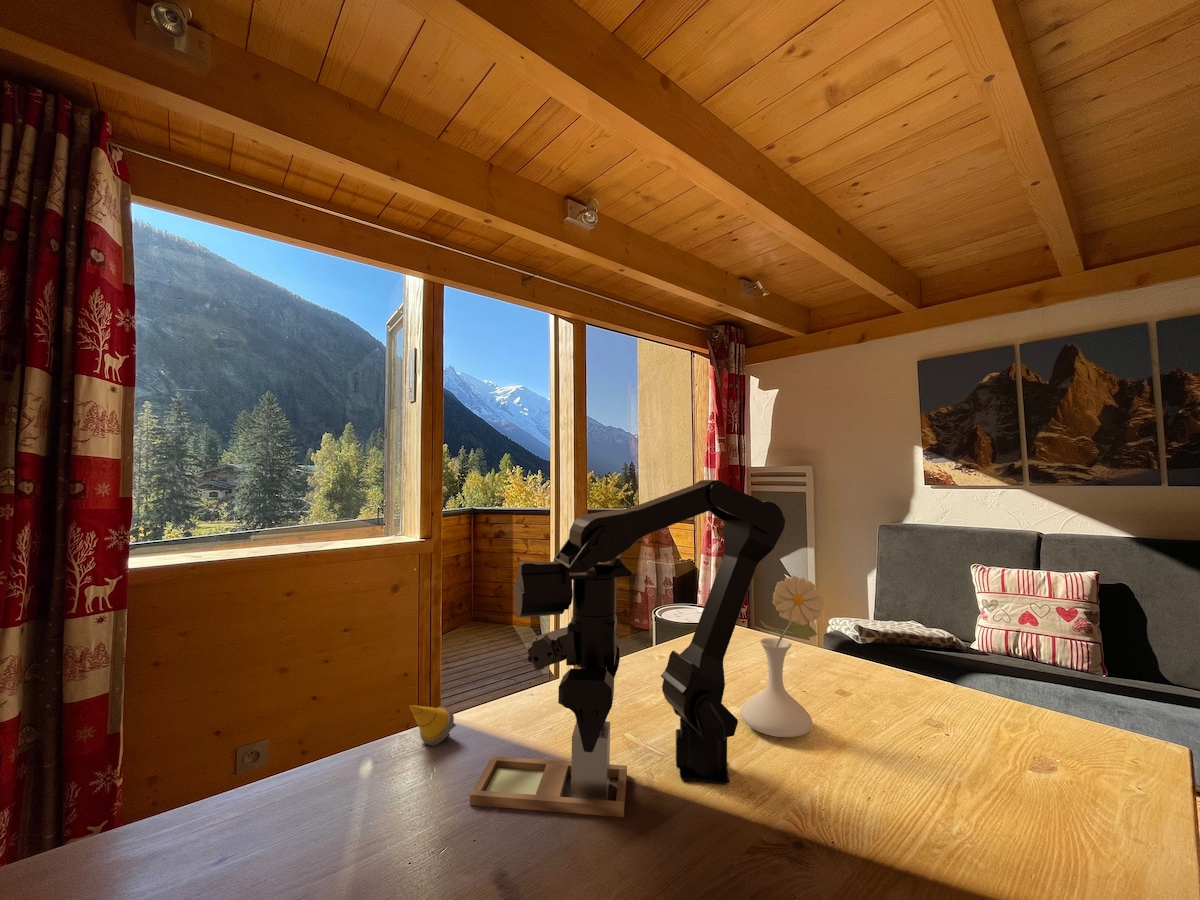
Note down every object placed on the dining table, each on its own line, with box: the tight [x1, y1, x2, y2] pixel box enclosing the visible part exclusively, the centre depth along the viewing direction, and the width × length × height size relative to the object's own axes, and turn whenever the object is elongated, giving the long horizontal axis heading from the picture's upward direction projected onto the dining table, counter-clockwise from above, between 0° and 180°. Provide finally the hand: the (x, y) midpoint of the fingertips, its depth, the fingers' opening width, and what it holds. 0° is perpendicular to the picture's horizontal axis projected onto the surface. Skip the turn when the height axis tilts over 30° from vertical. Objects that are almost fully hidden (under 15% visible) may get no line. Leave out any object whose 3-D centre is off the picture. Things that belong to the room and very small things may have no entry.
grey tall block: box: [570, 720, 611, 800], centre depth 68 cm, size 4×4×9 cm
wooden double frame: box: [469, 755, 628, 818], centre depth 68 cm, size 19×9×1 cm, turn 85°
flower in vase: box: [739, 575, 824, 738], centre depth 86 cm, size 13×11×25 cm
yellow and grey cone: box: [408, 704, 457, 746], centre depth 79 cm, size 5×5×10 cm
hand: (592, 732), depth 68 cm, fingers open, 9 cm apart
